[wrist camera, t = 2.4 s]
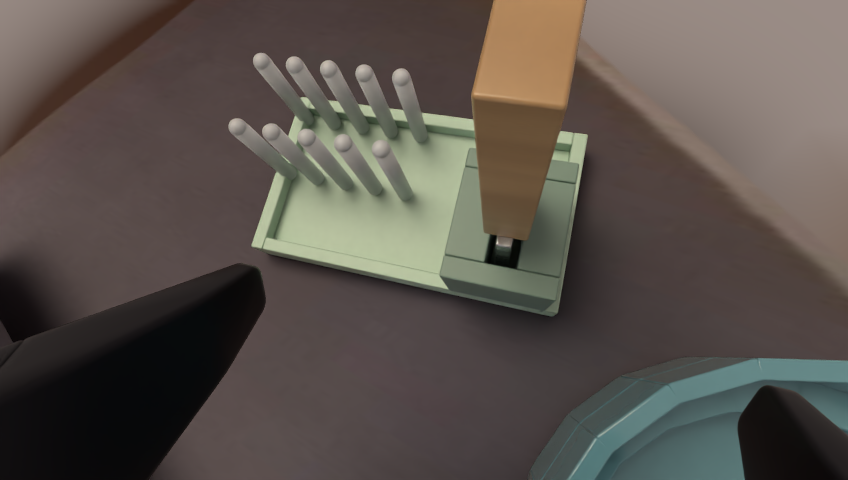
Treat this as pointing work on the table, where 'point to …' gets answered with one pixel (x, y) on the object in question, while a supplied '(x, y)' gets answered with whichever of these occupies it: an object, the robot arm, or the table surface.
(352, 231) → the dish rack
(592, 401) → the basin
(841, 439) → the robot arm
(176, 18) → the table surface
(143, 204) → the table surface
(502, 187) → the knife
